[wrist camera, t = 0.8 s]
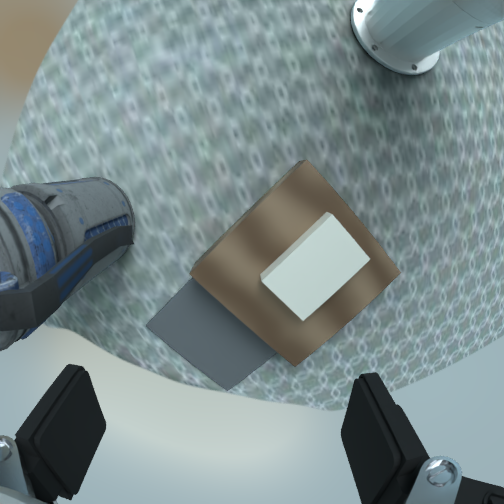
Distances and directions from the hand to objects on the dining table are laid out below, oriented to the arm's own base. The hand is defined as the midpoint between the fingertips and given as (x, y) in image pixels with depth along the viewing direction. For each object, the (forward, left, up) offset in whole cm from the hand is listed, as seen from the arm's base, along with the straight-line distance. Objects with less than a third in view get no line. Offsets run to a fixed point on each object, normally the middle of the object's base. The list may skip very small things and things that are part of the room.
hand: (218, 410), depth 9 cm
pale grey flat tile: (-5, +7, -22) cm, 23 cm away
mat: (+10, +7, -26) cm, 28 cm away
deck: (-3, +7, -26) cm, 26 cm away
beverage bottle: (+9, -12, -26) cm, 30 cm away
